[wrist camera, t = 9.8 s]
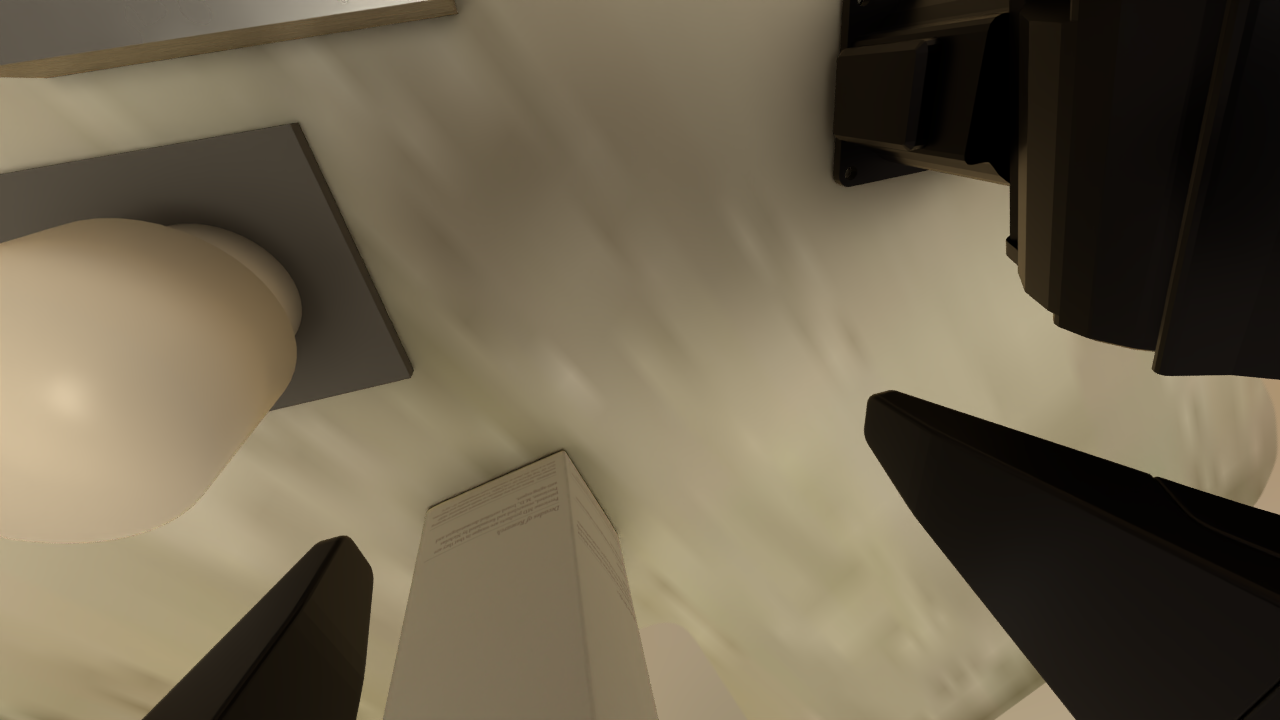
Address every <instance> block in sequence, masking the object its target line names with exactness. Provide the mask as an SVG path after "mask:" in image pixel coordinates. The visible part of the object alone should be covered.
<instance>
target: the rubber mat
mask: <svg viewBox="0 0 1280 720" xmlns="http://www.w3.org/2000/svg"><path fill="white" fill-rule="evenodd" d="M96 218H122V219H132V220H140V221H145V222H150V223H155V224H160V225H163V226H169V225H176V224H202V225H209V226H214V227H219V228H222V229H225V230H228V231H231V232H234V233H236V234H239V235H241V236H243V237H245V238H247V239H249V240H251V241H253V242H254V243H256V244H257V245H259V246H260V247H262V248H263V249H265V250H266V251H267V252H269V253H270V254H271V255H272V256H273V257H274V258H275V259H276V260H277V261H279V262H280V263H281V265H282V266H283V267H284V268H285V269H286V271H287V272H288V273H289V275H290V276H291V278H292V279H293V281H294V283H295V285H296V287H297V289H298V292H299V295H300V298H301V304H302V318H301V323H300V326H299V329H298V331H297V333H296V334H295V340H296V346H297V360H296V365H295V371H294V373H293V376H292V379H291V381H290V383H289V384H288V386H287V388H286V389H285V391H284V392H283V393H282V395H281V396H280V397H279V399H278V400H277V401H276V402H275V404H274V405H273V406H272V408H271V409H270V410H269V411H272V410H276V409H280V408H285V407H289V406H293V405H297V404H302V403H306V402H310V401H315V400H319V399H323V398H327V397H332V396H336V395H340V394H344V393H349V392H353V391H357V390H362V389H366V388H370V387H374V386H379V385H383V384H387V383H391V382H396V381H400V380H404V379H409V378H411V376H412V373H413V371H414V370H413V368H412V366H411V363H410V361H409V359H408V357H407V355H406V353H405V351H404V349H403V346H402V344H401V342H400V340H399V338H398V336H397V334H396V331H395V329H394V327H393V325H392V323H391V321H390V319H389V316H388V314H387V312H386V310H385V308H384V306H383V304H382V301H381V299H380V297H379V295H378V293H377V291H376V289H375V287H374V284H373V282H372V280H371V278H370V276H369V274H368V272H367V269H366V267H365V265H364V263H363V261H362V259H361V257H360V254H359V252H358V250H357V248H356V246H355V244H354V242H353V239H352V237H351V235H350V233H349V231H348V229H347V227H346V225H345V222H344V220H343V218H342V216H341V214H340V212H339V210H338V207H337V205H336V203H335V201H334V199H333V197H332V195H331V192H330V190H329V188H328V186H327V184H326V182H325V180H324V177H323V175H322V173H321V171H320V169H319V167H318V165H317V162H316V160H315V158H314V156H313V154H312V152H311V150H310V148H309V145H308V143H307V141H306V139H305V137H304V135H303V133H302V130H301V128H300V126H299V124H298V123H292V124H287V125H281V126H275V127H269V128H264V129H258V130H252V131H246V132H241V133H235V134H229V135H223V136H218V137H212V138H206V139H200V140H195V141H189V142H183V143H177V144H172V145H166V146H160V147H154V148H149V149H143V150H137V151H131V152H126V153H120V154H114V155H108V156H103V157H97V158H91V159H85V160H80V161H74V162H68V163H62V164H57V165H51V166H45V167H39V168H34V169H28V170H22V171H16V172H11V173H5V174H0V243H3V242H7V241H10V240H13V239H17V238H20V237H23V236H27V235H30V234H33V233H37V232H40V231H43V230H47V229H50V228H53V227H57V226H60V225H64V224H68V223H72V222H75V221H80V220H88V219H96Z"/></svg>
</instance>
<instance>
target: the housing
mask: <svg viewBox="0 0 1280 720" xmlns="http://www.w3.org/2000/svg"><path fill="white" fill-rule="evenodd" d="M454 14H458V12H457V8H456V5H455V1H454V0H0V77H14V78H51V77H57V76H64V75H70V74H76V73H83V72H89V71H96V70H102V69H108V68H115V67H121V66H128V65H134V64H140V63H147V62H153V61H160V60H166V59H172V58H179V57H185V56H192V55H198V54H204V53H211V52H217V51H224V50H230V49H236V48H243V47H249V46H256V45H262V44H268V43H275V42H281V41H288V40H294V39H300V38H307V37H313V36H320V35H326V34H332V33H339V32H345V31H352V30H358V29H364V28H371V27H377V26H384V25H390V24H396V23H403V22H409V21H416V20H422V19H428V18H435V17H441V16H448V15H454Z"/></svg>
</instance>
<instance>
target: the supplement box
mask: <svg viewBox="0 0 1280 720" xmlns="http://www.w3.org/2000/svg"><path fill="white" fill-rule="evenodd" d="M383 720H658V715H657V711H656V706H655V702H654V697H653V693H652V689H651V684H650V679H649V675H648V670H647V666H646V662H645V657H644V652H643V648H642V643H641V638H640V635H639V629H638V625H637V620H636V616H635V611H634V607H633V602H632V598H631V593H630V589H629V584H628V580H627V575H626V570H625V565H624V560H623V555H622V550H621V546H620V541H619V537H618V534H617V533H616V531H615V530H614V528H613V526H612V525H611V523H610V521H609V520H608V518H607V516H606V515H605V513H604V512H603V510H602V509H601V507H600V505H599V504H598V502H597V501H596V499H595V497H594V496H593V494H592V493H591V491H590V490H589V488H588V486H587V485H586V483H585V482H584V480H583V479H582V477H581V475H580V474H579V472H578V471H577V469H576V468H575V466H574V465H573V463H572V461H571V460H570V458H569V457H568V455H567V453H566V452H565V451H561V452H558V453H556V454H553V455H551V456H549V457H546V458H544V459H541V460H539V461H537V462H535V463H532V464H530V465H528V466H525V467H523V468H521V469H518V470H516V471H513V472H511V473H509V474H507V475H504V476H502V477H500V478H498V479H495V480H493V481H490V482H488V483H486V484H484V485H481V486H479V487H477V488H475V489H472V490H470V491H467V492H465V493H463V494H461V495H459V496H456V497H454V498H452V499H449V500H447V501H445V502H442V503H440V504H439V505H436V506H434V507H433V508H431V509H429V510H428V511H427V513H426V517H425V522H424V526H423V531H422V536H421V541H420V545H419V550H418V554H417V559H416V564H415V569H414V574H413V579H412V584H411V588H410V593H409V598H408V602H407V607H406V612H405V617H404V621H403V626H402V631H401V636H400V641H399V645H398V650H397V655H396V660H395V664H394V669H393V674H392V679H391V683H390V688H389V693H388V697H387V702H386V707H385V712H384V717H383Z"/></svg>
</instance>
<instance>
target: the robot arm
mask: <svg viewBox="0 0 1280 720" xmlns="http://www.w3.org/2000/svg"><path fill="white" fill-rule="evenodd" d="M833 134H834V135H835V154H834V171H833V176H834V180H835V182H836V183H837V184H839V185H842V186H845V187H851V186H856V185H861V184H865V183H870V182H875V181H879V180H884V179H889V178H893V177H898V176H903V175H908V174H912V173H917V172H922V171H926V170H933V171H938V172H943V173H948V174H953V175H958V176H963V177H968V178H972V179H977V180H982V181H987V182H992V183H997V184H1002V185H1007V186H1010V236H1009V237H1007V239H1006V255H1007V256H1008V257H1009V258H1010V259H1011V260H1012V261H1013V262H1014V263H1016V264H1017V265H1018V274H1019V277H1020V279H1021V282H1022V285H1023V288H1024V290H1025V292H1026V293H1027V294H1028V295H1030V296H1031V297H1032V298H1033V299H1035V300H1036V301H1037V302H1038V303H1039V304H1041V305H1042V306H1043V307H1044V308H1046V309H1047V310H1048V311H1050V312H1052V313H1053V321H1054V324H1055V325H1057V326H1058V327H1060V328H1063V329H1066V330H1068V331H1071V332H1073V333H1076V334H1078V335H1081V336H1084V337H1086V338H1089V339H1092V340H1095V341H1099V342H1103V343H1107V344H1112V345H1116V346H1121V347H1125V348H1130V349H1134V350H1143V351H1152V352H1155V355H1154V360H1153V365H1152V370H1153V371H1154V372H1155V373H1157V374H1160V375H1164V376H1199V375H1236V376H1247V377H1257V378H1267V379H1279V380H1280V0H863V3H862V4H861V6H860V5H859V4H858V1H857V0H843V13H842V31H841V48H840V55H839V57H838V58H837V70H836V89H835V107H834V125H833ZM849 167H851V173H850V175H849V176H848V177H847V178H845V173H846V170H847V169H848V168H849ZM864 435H865V439H866V441H867V443H868V445H869V447H870V448H871V450H872V451H873V453H874V455H875V456H876V458H877V459H878V461H879V462H880V464H881V465H882V467H883V469H884V470H885V472H886V473H887V475H888V476H889V478H890V479H891V481H892V483H893V484H894V486H895V487H896V489H897V490H898V492H899V494H900V495H901V497H902V498H903V500H904V501H905V503H906V504H907V506H908V507H909V509H910V510H911V512H912V513H913V515H914V516H915V517H916V519H917V520H918V521H919V523H920V524H921V525H922V526H923V528H924V529H925V530H926V532H927V533H928V534H929V535H930V537H931V538H932V539H933V540H934V542H935V543H936V544H937V545H938V547H939V548H940V549H941V550H942V552H943V553H944V554H945V555H946V557H947V558H948V559H949V561H950V562H951V563H952V564H953V566H954V567H955V568H956V569H957V571H958V572H959V573H960V574H961V576H962V577H963V578H964V579H965V581H966V582H967V583H968V584H969V586H970V587H971V588H972V590H973V591H974V592H975V593H976V595H977V596H978V597H979V598H980V600H981V601H982V602H983V603H984V605H985V606H986V607H987V608H988V610H989V611H990V612H991V613H992V615H993V616H994V617H995V619H996V620H997V621H998V622H999V624H1000V625H1001V626H1002V627H1003V629H1004V630H1005V631H1006V632H1007V634H1008V635H1009V636H1010V637H1011V639H1012V640H1013V641H1014V642H1015V644H1016V645H1017V646H1018V648H1019V649H1020V650H1021V651H1022V653H1023V654H1024V655H1025V656H1026V658H1027V659H1028V660H1029V661H1030V663H1031V664H1032V665H1033V666H1034V668H1035V669H1036V670H1037V671H1038V673H1039V674H1040V675H1041V677H1042V678H1043V679H1044V680H1045V682H1046V683H1047V684H1048V685H1049V687H1050V688H1051V689H1052V690H1053V692H1054V693H1055V694H1056V695H1057V696H1058V698H1059V699H1060V700H1061V702H1062V703H1063V704H1064V705H1065V707H1066V708H1067V709H1068V710H1069V712H1070V713H1071V714H1072V716H1073V717H1074V718H1075V719H1076V720H1280V515H1278V514H1275V513H1271V512H1268V511H1265V510H1261V509H1258V508H1254V507H1251V506H1248V505H1245V504H1241V503H1238V502H1235V501H1232V500H1229V499H1226V498H1222V497H1219V496H1216V495H1213V494H1210V493H1207V492H1203V491H1200V490H1197V489H1194V488H1191V487H1188V486H1185V485H1182V484H1179V483H1176V482H1173V481H1170V480H1167V479H1164V478H1161V477H1154V478H1153V477H1152V476H1151V475H1150V474H1148V473H1145V472H1142V471H1139V470H1136V469H1133V468H1130V467H1127V466H1124V465H1121V464H1118V463H1115V462H1112V461H1109V460H1106V459H1102V458H1099V457H1096V456H1093V455H1090V454H1087V453H1084V452H1081V451H1078V450H1075V449H1072V448H1069V447H1066V446H1063V445H1060V444H1057V443H1054V442H1051V441H1048V440H1045V439H1042V438H1038V437H1035V436H1032V435H1029V434H1026V433H1023V432H1020V431H1017V430H1014V429H1011V428H1008V427H1005V426H1002V425H999V424H996V423H993V422H990V421H987V420H984V419H981V418H978V417H974V416H971V415H968V414H965V413H962V412H959V411H956V410H953V409H950V408H947V407H944V406H941V405H938V404H935V403H932V402H929V401H926V400H923V399H920V398H917V397H914V396H910V395H907V394H904V393H901V392H898V391H895V390H888V391H884V392H881V393H877V394H873V395H872V396H870V397H869V399H868V401H867V409H866V417H865V425H864ZM372 591H373V572H372V569H371V566H370V564H369V563H368V561H367V560H366V559H365V557H364V556H363V554H362V553H361V551H360V550H359V549H358V547H357V546H356V544H355V543H354V541H353V540H352V539H351V538H350V537H348V536H338V537H334V538H331V539H327V540H323V541H321V542H318V543H317V544H315V545H314V546H313V547H312V548H311V549H310V550H309V551H308V552H307V553H306V554H305V555H304V556H303V557H302V558H301V559H300V560H299V561H298V562H297V563H296V564H295V565H294V566H293V567H292V568H291V569H290V570H289V571H288V572H287V573H286V574H285V575H284V576H283V578H282V579H281V580H280V581H279V582H278V583H277V584H276V585H275V586H274V587H273V588H272V589H271V590H270V591H269V592H268V593H267V594H266V595H265V596H264V597H263V598H262V599H261V600H260V601H259V602H258V603H257V604H256V605H255V606H254V607H253V608H252V609H251V610H250V611H249V612H248V613H247V614H246V615H245V616H244V617H243V618H242V619H241V620H240V621H239V622H238V623H237V624H236V625H235V626H234V627H233V628H232V629H231V630H230V631H229V632H228V633H227V634H226V635H225V636H224V637H223V638H222V639H221V640H220V641H219V642H218V643H217V644H216V645H215V646H214V647H213V648H212V649H211V650H210V651H209V652H208V653H207V654H206V655H205V656H204V657H203V658H202V659H201V660H200V661H199V662H198V663H197V664H196V665H195V666H194V667H193V668H192V669H191V670H190V671H189V672H188V674H187V675H186V676H185V677H184V678H183V679H182V680H181V681H180V682H179V683H178V684H177V685H176V686H175V687H174V688H173V689H172V690H171V691H170V692H169V693H168V694H167V695H166V696H165V697H164V698H163V699H162V700H161V701H160V702H159V703H158V704H157V705H156V706H155V707H154V708H153V709H152V710H151V711H150V712H149V713H148V714H147V715H146V716H145V717H144V718H143V719H142V720H356V717H357V712H358V707H359V702H360V697H361V692H362V686H363V681H364V673H365V665H366V656H367V645H368V634H369V624H370V613H371V602H372Z"/></svg>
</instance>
